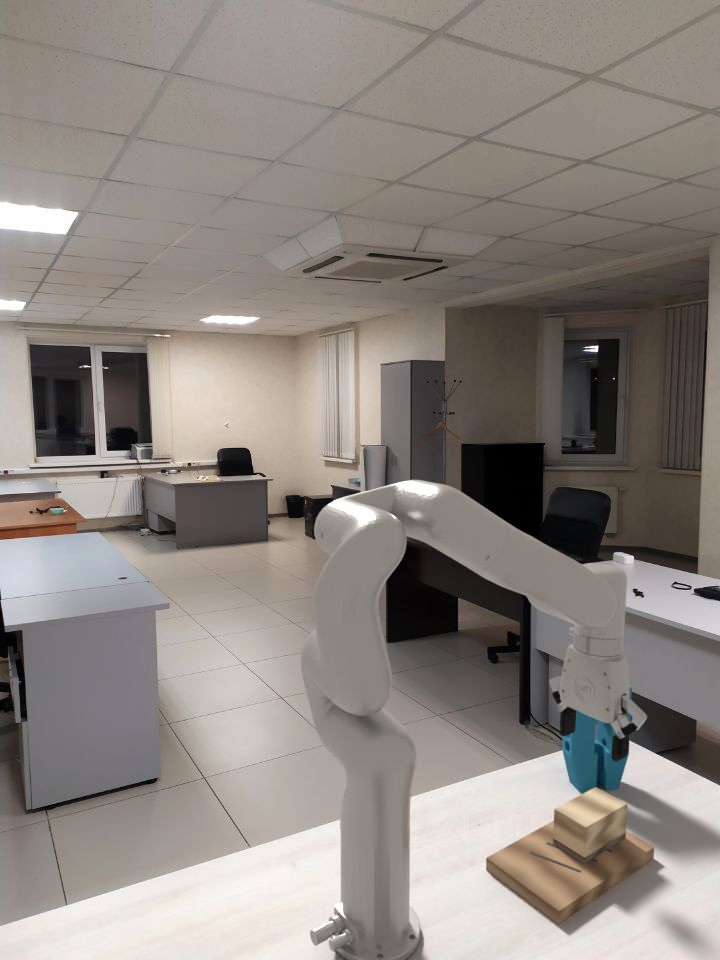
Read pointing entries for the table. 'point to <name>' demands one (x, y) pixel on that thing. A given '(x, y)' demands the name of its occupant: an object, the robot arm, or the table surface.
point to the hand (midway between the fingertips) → (592, 745)
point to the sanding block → (589, 824)
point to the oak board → (564, 871)
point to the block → (592, 754)
